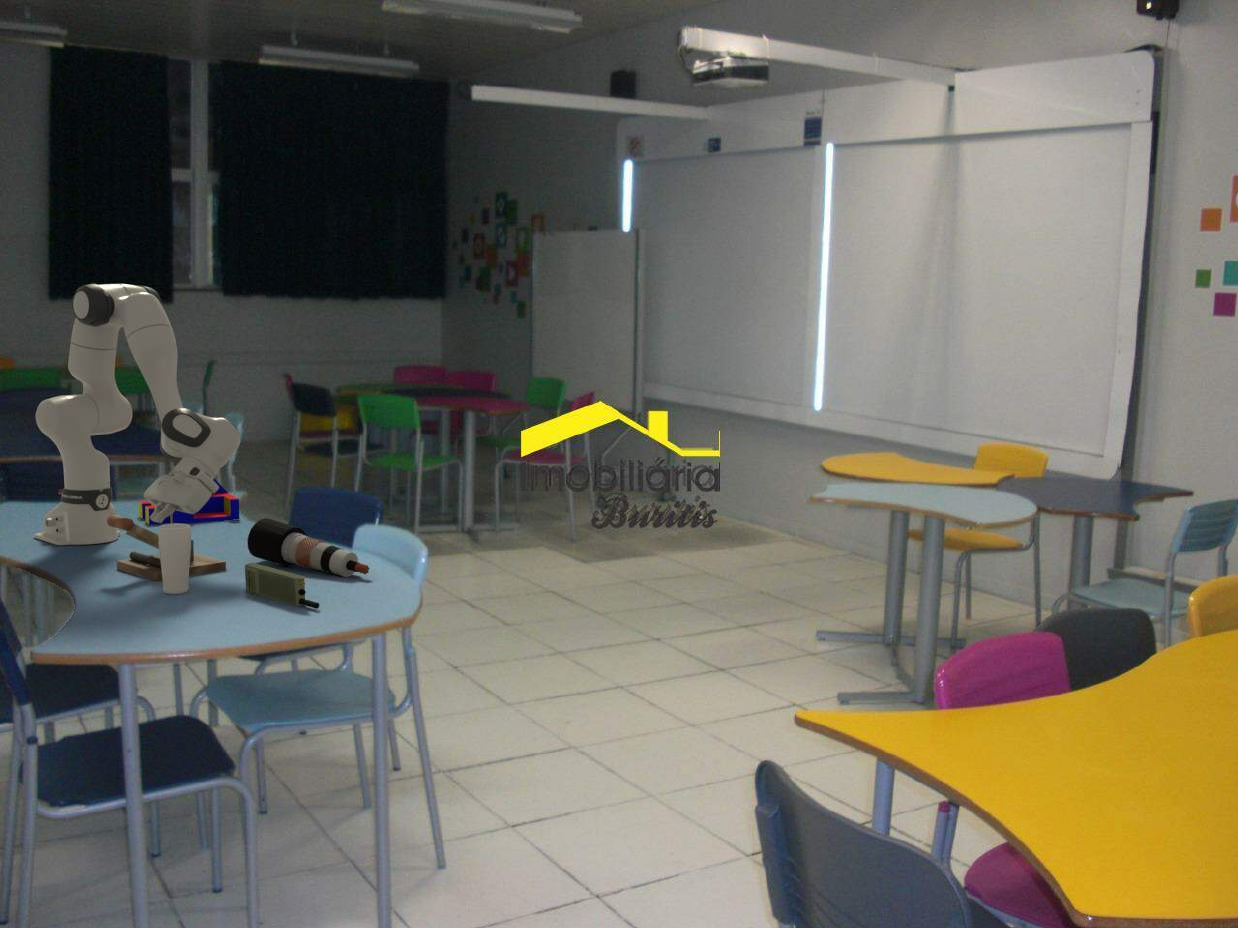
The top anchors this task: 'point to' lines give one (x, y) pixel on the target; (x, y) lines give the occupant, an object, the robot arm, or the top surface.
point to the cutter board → (157, 572)
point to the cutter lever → (134, 530)
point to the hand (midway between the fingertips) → (154, 520)
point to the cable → (299, 549)
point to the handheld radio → (277, 585)
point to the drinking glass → (175, 557)
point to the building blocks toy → (208, 513)
